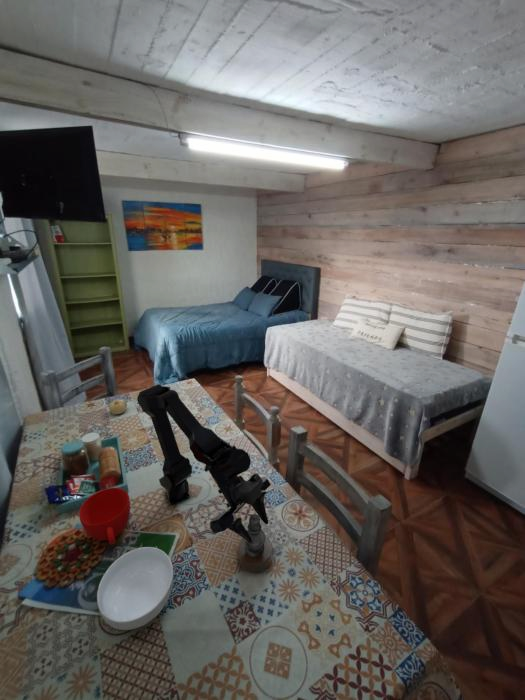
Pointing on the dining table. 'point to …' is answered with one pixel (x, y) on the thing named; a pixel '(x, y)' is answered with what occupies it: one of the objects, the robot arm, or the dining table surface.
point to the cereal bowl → (135, 588)
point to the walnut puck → (255, 558)
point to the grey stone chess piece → (255, 537)
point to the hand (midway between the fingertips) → (259, 532)
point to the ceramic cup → (105, 514)
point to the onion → (117, 406)
